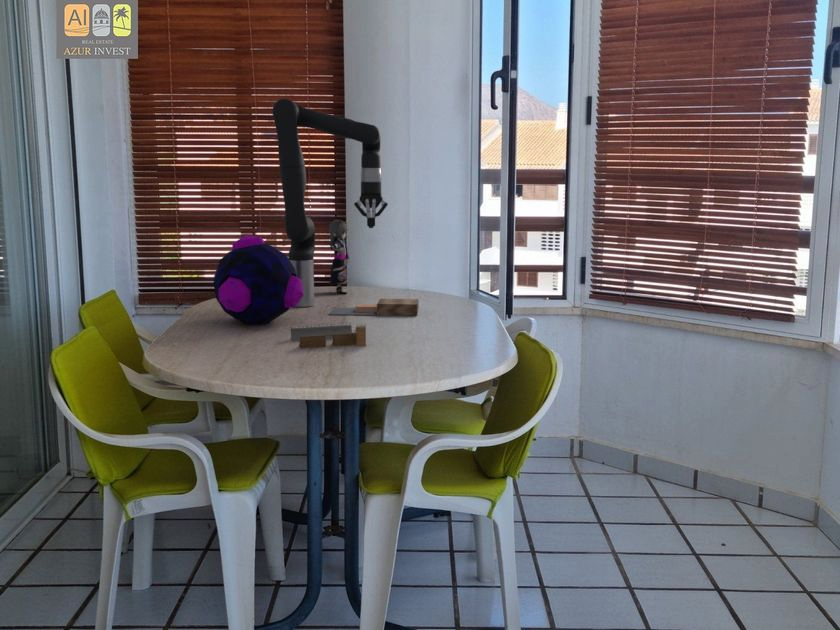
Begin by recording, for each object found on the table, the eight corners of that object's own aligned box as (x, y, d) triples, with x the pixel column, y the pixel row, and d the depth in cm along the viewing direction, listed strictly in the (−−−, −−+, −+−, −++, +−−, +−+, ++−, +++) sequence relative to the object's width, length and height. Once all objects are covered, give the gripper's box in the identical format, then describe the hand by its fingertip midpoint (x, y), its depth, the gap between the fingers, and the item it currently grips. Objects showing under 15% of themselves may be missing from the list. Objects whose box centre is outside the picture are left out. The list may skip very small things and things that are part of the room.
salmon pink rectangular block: (355, 312, 322) (355, 306, 322) (357, 309, 328) (357, 303, 328) (378, 312, 322) (378, 306, 321) (379, 309, 328) (379, 304, 327)
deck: (377, 315, 319) (377, 303, 318) (380, 309, 330) (380, 298, 330) (416, 315, 318) (417, 304, 317) (418, 309, 330) (418, 299, 329)
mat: (328, 315, 318) (328, 313, 318) (334, 308, 332) (334, 307, 332) (374, 315, 318) (374, 314, 318) (377, 308, 331) (377, 307, 331)
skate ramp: (362, 334, 289) (362, 310, 287) (396, 356, 256) (396, 330, 255) (270, 339, 279) (270, 315, 278) (294, 364, 246) (293, 337, 245)
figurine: (345, 297, 357) (344, 221, 352) (326, 297, 357) (325, 221, 352) (349, 291, 374) (349, 218, 369) (331, 291, 374) (330, 218, 369)
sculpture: (262, 317, 323) (228, 240, 318) (326, 297, 309) (291, 215, 303) (211, 349, 298) (172, 265, 292) (277, 328, 283) (238, 240, 278)
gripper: (351, 180, 328) (352, 228, 331) (388, 180, 327) (388, 228, 330) (354, 180, 335) (354, 227, 338) (389, 180, 335) (389, 227, 338)
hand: (371, 227), depth 334 cm, fingers closed
